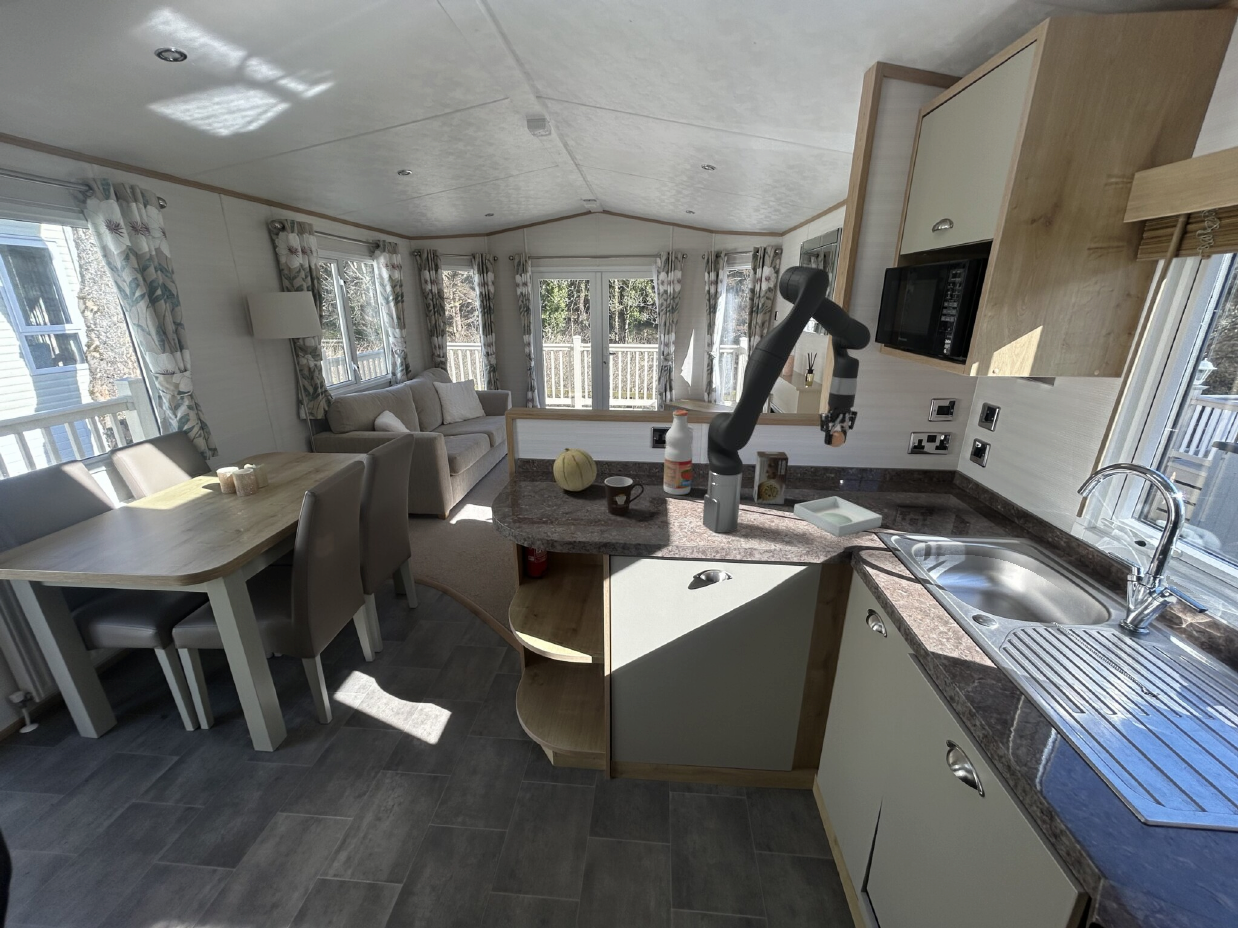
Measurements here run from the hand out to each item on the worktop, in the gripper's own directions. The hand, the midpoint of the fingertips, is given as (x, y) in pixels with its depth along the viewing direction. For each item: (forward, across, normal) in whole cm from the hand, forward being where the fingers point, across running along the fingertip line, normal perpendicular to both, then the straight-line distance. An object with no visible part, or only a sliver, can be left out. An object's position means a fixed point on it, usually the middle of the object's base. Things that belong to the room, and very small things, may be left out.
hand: (834, 443), depth 161 cm
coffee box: (+20, -19, +7) cm, 28 cm away
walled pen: (+19, -11, -14) cm, 26 cm away
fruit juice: (+20, -42, +27) cm, 54 cm away
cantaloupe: (+20, -74, +42) cm, 87 cm away
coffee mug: (+20, -67, +18) cm, 72 cm away
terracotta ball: (-2, 0, 0) cm, 2 cm away
